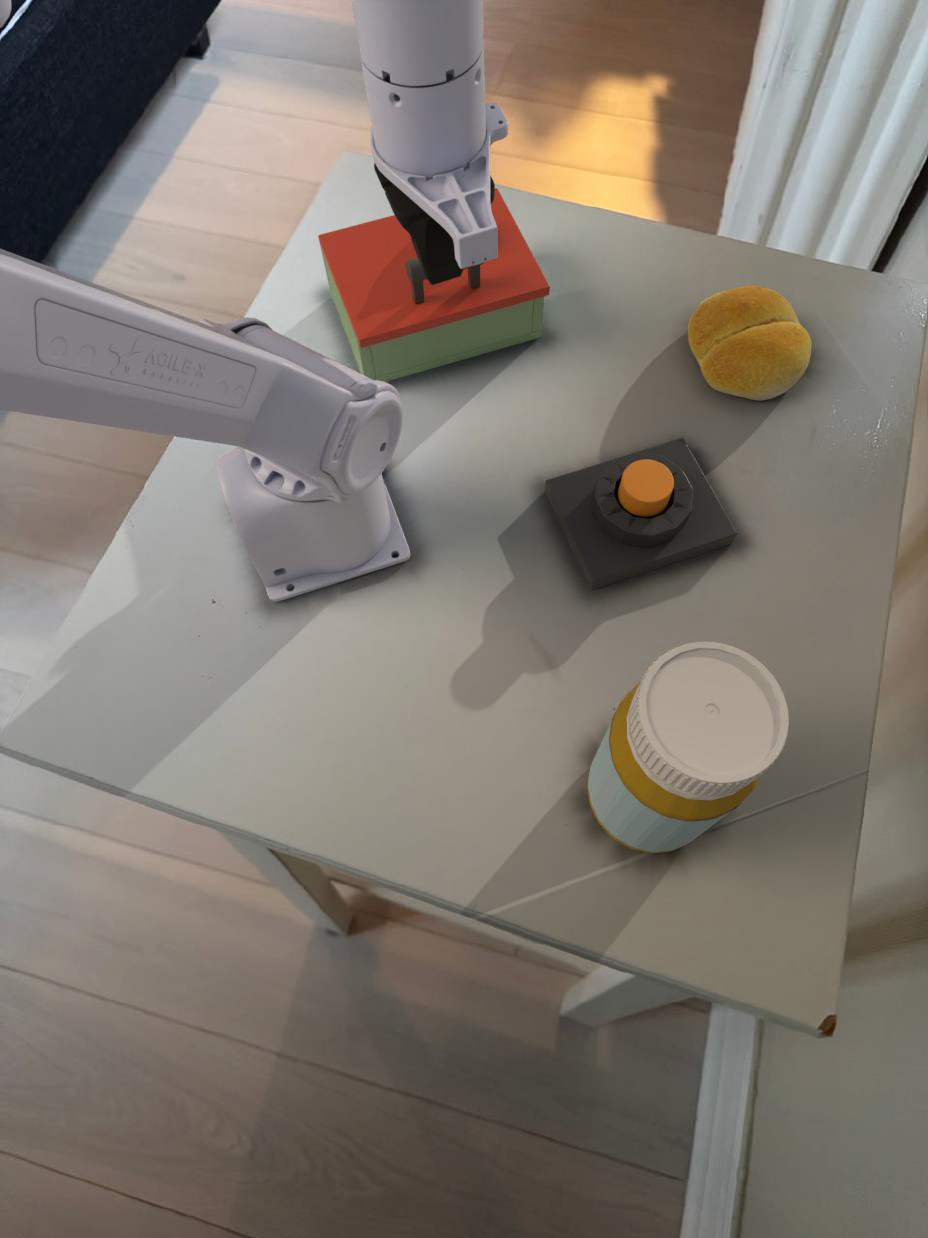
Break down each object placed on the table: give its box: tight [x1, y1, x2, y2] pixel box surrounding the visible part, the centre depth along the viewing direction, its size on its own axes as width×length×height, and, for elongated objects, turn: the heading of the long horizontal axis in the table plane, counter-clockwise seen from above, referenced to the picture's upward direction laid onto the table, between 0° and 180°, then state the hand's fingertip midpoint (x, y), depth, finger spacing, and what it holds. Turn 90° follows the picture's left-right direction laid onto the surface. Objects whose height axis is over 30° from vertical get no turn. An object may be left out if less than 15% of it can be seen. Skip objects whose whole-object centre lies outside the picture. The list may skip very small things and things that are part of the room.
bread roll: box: [687, 285, 813, 402], centre depth 59 cm, size 8×9×4 cm
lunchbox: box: [319, 244, 545, 383], centre depth 61 cm, size 10×14×5 cm
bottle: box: [586, 641, 790, 854], centre depth 41 cm, size 7×7×15 cm
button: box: [618, 459, 674, 517], centre depth 52 cm, size 3×3×2 cm
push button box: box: [544, 437, 738, 591], centre depth 54 cm, size 10×8×3 cm
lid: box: [317, 187, 551, 348], centre depth 56 cm, size 10×14×4 cm
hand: (442, 272), depth 50 cm, fingers closed
